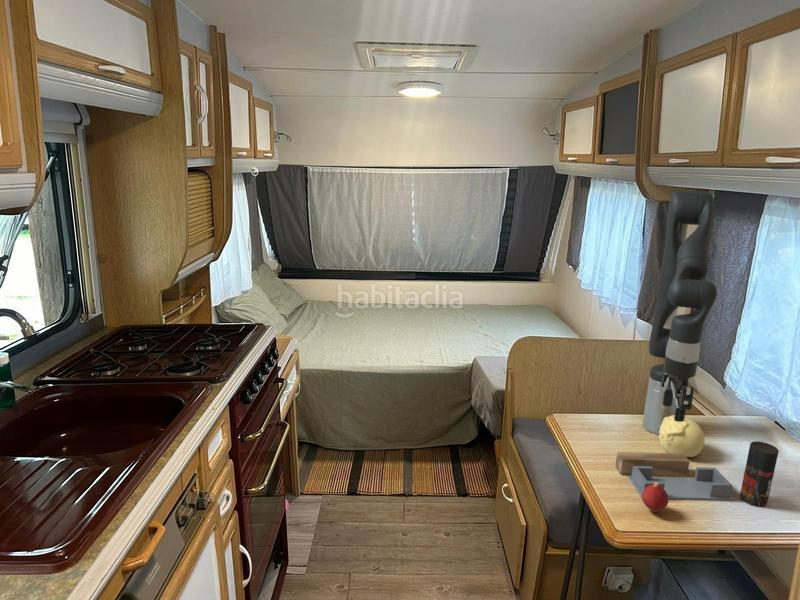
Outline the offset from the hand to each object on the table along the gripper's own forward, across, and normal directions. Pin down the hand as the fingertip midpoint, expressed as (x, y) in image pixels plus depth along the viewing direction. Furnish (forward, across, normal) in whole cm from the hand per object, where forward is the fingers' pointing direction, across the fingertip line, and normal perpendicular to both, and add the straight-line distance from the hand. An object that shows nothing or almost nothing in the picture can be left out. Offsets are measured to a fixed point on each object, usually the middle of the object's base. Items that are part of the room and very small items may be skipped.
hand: (672, 413), depth 144 cm
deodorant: (+19, +8, +20) cm, 29 cm away
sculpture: (+20, -14, +9) cm, 26 cm away
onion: (+19, +16, -8) cm, 26 cm away
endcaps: (+19, +6, +2) cm, 20 cm away
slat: (+19, -2, -2) cm, 20 cm away
